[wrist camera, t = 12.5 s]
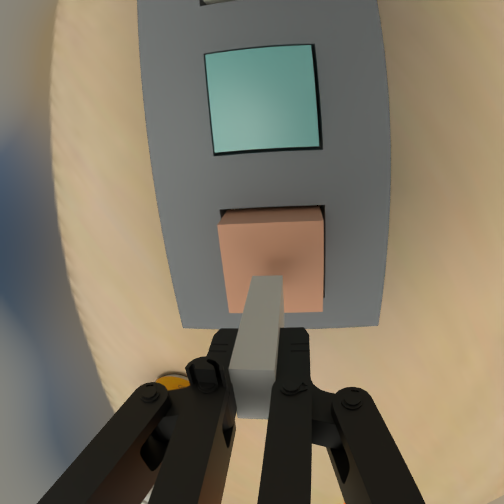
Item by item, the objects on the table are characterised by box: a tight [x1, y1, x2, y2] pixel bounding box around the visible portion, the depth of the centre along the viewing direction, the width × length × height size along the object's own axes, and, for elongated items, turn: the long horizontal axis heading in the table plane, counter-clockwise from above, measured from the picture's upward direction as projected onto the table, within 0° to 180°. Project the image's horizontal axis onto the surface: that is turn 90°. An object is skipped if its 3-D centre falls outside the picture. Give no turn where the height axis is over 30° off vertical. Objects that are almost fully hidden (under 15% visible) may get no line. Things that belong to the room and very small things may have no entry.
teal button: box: [205, 45, 319, 153], centre depth 18 cm, size 6×6×3 cm
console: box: [137, 0, 391, 329], centre depth 19 cm, size 32×15×3 cm, turn 5°
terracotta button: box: [217, 206, 324, 313], centre depth 21 cm, size 6×6×3 cm
